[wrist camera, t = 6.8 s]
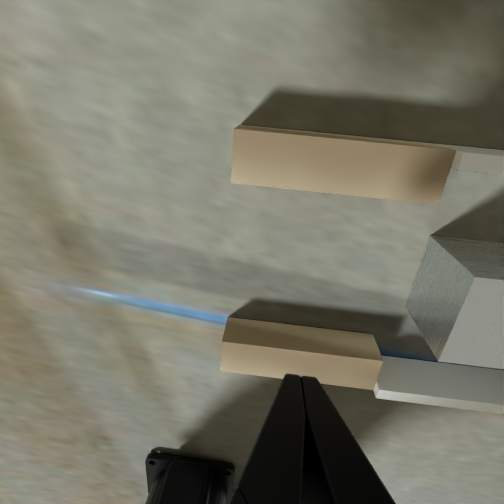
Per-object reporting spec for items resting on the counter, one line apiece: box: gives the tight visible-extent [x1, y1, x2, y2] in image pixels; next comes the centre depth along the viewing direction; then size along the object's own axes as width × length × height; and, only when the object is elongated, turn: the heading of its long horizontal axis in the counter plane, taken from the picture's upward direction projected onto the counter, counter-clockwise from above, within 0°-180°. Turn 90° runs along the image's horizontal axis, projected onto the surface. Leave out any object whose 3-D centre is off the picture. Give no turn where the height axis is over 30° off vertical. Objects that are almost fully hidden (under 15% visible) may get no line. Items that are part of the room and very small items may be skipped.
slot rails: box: [220, 125, 457, 390], centre depth 15 cm, size 12×8×2 cm, turn 175°
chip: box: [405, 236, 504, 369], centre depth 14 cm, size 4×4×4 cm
